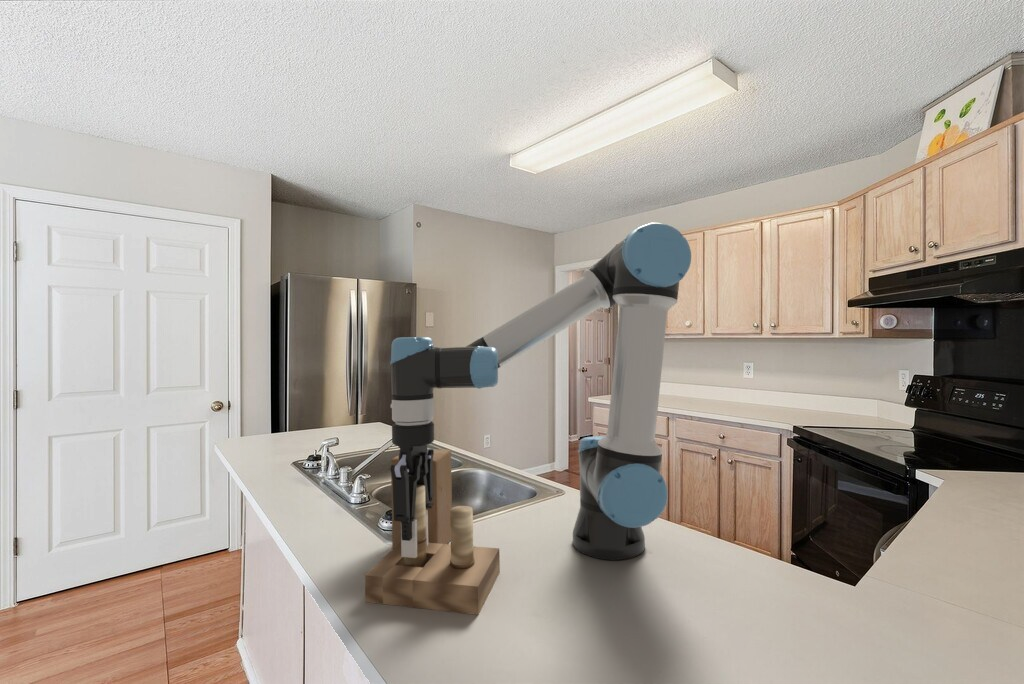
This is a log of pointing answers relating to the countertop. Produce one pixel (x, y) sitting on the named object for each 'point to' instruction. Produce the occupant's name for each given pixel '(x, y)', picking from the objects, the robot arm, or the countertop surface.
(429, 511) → the wooden block
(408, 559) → the peg
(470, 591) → the board
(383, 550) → the countertop surface
